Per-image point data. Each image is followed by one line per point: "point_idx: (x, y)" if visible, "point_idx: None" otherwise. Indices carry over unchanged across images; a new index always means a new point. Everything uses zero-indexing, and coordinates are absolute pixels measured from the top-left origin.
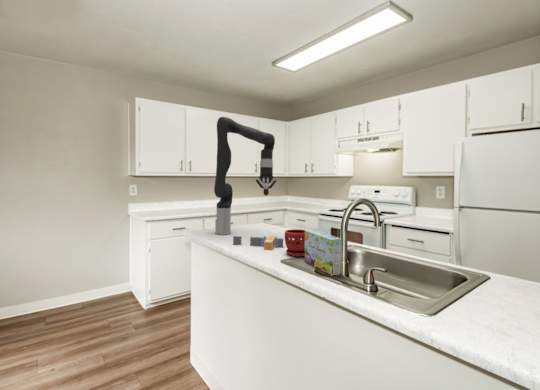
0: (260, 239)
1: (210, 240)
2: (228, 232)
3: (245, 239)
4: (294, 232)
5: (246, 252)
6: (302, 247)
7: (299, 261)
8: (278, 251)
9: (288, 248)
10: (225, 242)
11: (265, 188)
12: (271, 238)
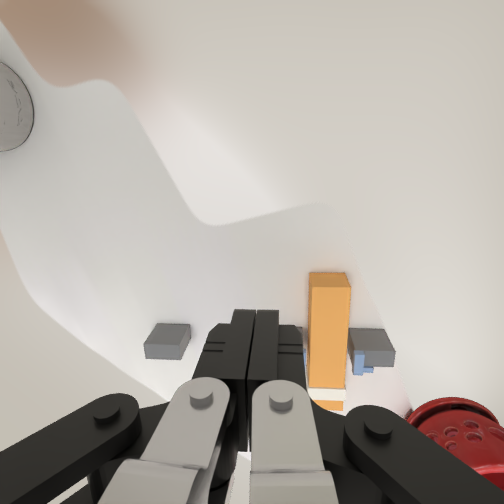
0: None
1: (30, 287)
2: (24, 125)
3: (173, 228)
4: (474, 458)
5: None
6: None
7: None
8: (367, 401)
9: None
10: (111, 308)
11: (233, 457)
12: (331, 336)
